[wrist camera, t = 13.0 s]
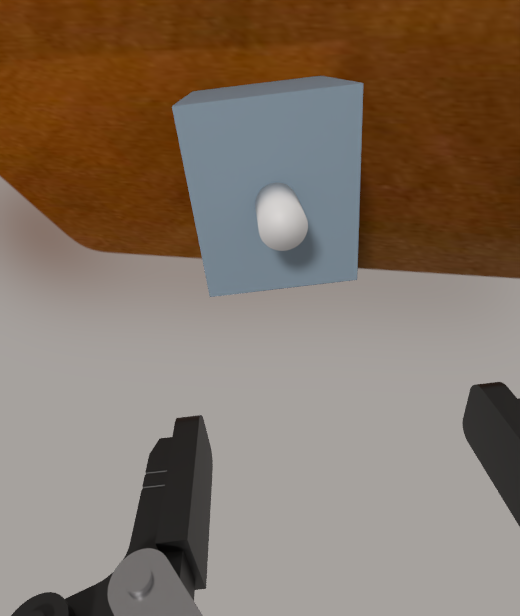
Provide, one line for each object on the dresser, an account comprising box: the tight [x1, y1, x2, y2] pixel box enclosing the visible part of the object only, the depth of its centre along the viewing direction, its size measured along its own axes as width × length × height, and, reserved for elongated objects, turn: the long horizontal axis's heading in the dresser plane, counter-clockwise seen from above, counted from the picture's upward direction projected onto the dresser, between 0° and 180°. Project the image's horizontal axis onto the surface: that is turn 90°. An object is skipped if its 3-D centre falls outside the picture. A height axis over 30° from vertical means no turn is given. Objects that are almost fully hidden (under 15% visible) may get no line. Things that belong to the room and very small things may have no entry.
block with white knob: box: [172, 76, 363, 297], centre depth 34 cm, size 13×15×20 cm
